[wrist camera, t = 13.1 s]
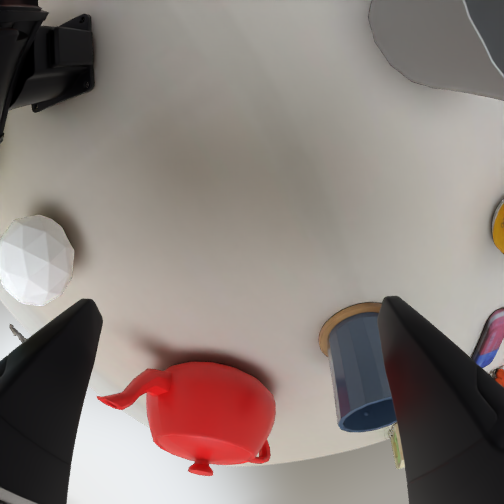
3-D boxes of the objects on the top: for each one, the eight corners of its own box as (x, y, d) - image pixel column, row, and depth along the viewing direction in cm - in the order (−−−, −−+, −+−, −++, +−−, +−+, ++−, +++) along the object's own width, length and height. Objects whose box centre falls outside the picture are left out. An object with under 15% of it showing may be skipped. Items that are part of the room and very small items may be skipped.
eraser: (488, 312, 25) (494, 322, 23) (510, 304, 24) (516, 313, 22) (467, 364, 30) (471, 373, 29) (487, 356, 29) (491, 365, 28)
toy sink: (398, 463, 33) (395, 472, 40) (436, 449, 32) (426, 461, 38) (390, 424, 41) (389, 440, 47) (426, 412, 39) (419, 430, 45)
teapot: (314, 402, 34) (319, 483, 24) (229, 426, 40) (222, 491, 30) (173, 293, 25) (130, 415, 14) (98, 344, 30) (61, 425, 20)
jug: (331, 314, 24) (348, 403, 17) (399, 309, 24) (431, 388, 16) (320, 371, 29) (327, 444, 22) (376, 366, 29) (392, 434, 21)
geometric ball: (79, 242, 26) (55, 315, 23) (17, 209, 20) (-11, 284, 18) (96, 230, 20) (65, 325, 17) (16, 186, 15) (-23, 285, 12)
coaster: (314, 360, 29) (315, 364, 28) (323, 304, 24) (324, 309, 24) (386, 353, 28) (387, 357, 28) (407, 299, 24) (409, 303, 23)
